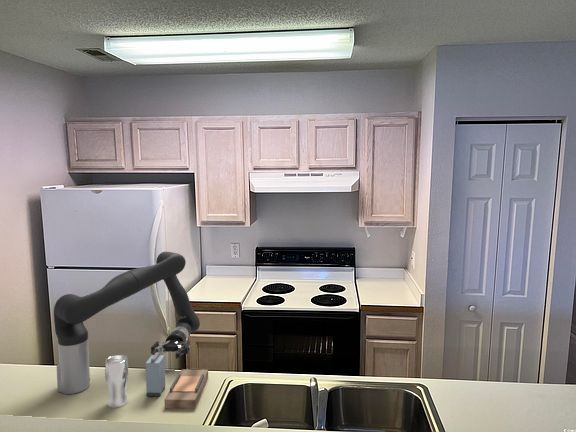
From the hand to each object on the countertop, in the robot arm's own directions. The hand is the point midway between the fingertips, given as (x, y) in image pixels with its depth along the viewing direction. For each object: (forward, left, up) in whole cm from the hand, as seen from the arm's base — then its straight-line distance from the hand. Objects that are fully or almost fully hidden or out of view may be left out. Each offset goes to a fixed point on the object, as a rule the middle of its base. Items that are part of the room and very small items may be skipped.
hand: (165, 356), depth 145 cm
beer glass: (-11, -17, -8) cm, 22 cm away
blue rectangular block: (0, -11, -8) cm, 13 cm away
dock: (+11, -10, -8) cm, 17 cm away
